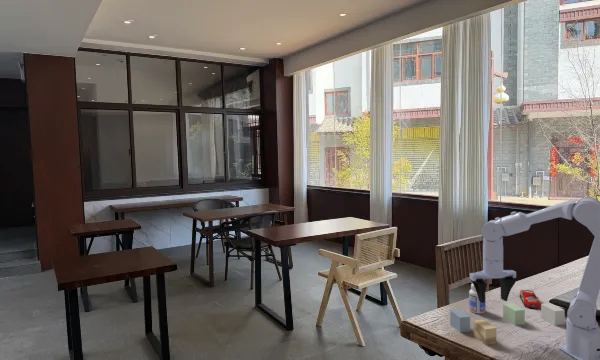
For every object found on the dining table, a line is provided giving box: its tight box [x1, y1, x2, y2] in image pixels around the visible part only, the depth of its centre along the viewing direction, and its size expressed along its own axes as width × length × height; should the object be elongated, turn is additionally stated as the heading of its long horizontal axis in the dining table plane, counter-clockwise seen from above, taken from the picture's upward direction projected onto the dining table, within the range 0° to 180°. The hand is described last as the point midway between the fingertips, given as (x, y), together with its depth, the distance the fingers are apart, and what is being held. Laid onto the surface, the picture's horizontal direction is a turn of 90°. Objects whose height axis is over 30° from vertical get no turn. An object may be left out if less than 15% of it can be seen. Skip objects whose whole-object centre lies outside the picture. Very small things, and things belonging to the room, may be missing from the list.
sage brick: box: [502, 302, 526, 326], centre depth 133 cm, size 6×4×5 cm, turn 8°
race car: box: [519, 289, 541, 309], centre depth 148 cm, size 13×5×4 cm, turn 159°
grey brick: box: [540, 302, 566, 327], centre depth 132 cm, size 6×4×5 cm, turn 8°
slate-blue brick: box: [449, 308, 471, 333], centre depth 129 cm, size 6×4×5 cm, turn 8°
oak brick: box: [473, 319, 497, 346], centre depth 121 cm, size 6×4×5 cm, turn 8°
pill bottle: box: [468, 282, 487, 315], centre depth 142 cm, size 5×5×10 cm
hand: (492, 300), depth 125 cm, fingers open, 7 cm apart
